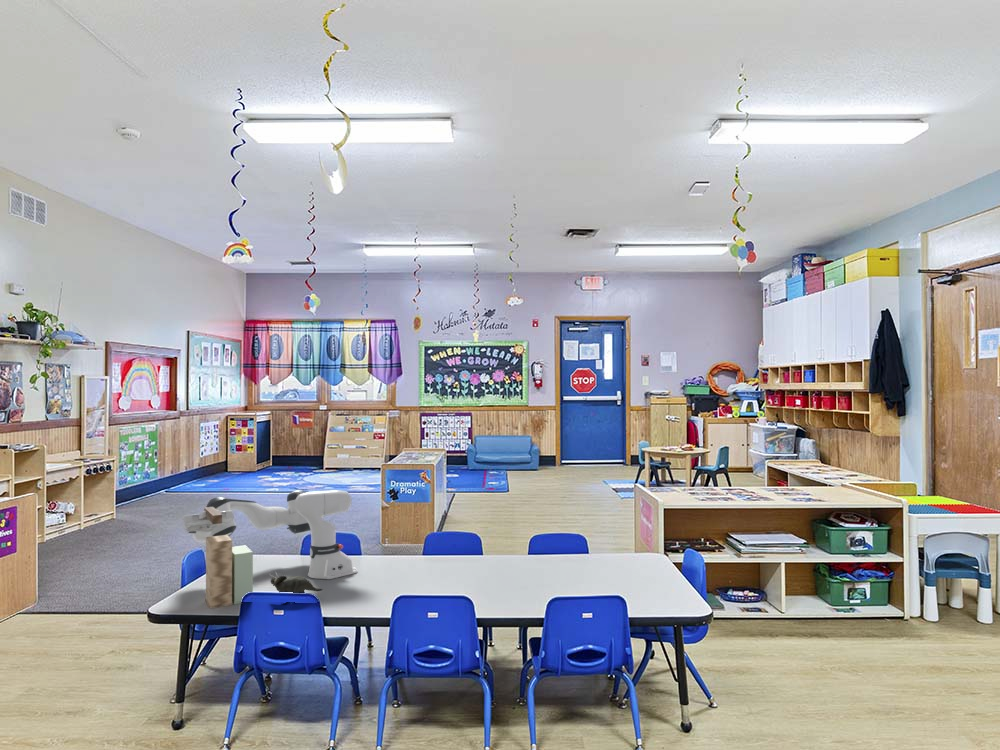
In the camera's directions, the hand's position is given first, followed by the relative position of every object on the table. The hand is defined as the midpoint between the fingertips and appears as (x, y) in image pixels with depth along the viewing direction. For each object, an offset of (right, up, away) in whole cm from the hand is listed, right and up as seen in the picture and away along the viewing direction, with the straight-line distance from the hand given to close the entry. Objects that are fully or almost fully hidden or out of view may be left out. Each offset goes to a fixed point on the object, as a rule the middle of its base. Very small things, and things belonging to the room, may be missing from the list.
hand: (211, 512), depth 276 cm
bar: (+2, -2, -4) cm, 5 cm away
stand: (+9, -34, -13) cm, 37 cm away
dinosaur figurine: (+39, -34, -12) cm, 53 cm away
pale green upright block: (+15, -34, -7) cm, 38 cm away
